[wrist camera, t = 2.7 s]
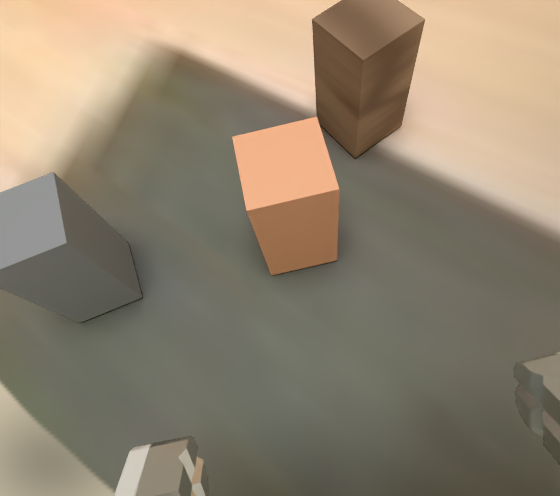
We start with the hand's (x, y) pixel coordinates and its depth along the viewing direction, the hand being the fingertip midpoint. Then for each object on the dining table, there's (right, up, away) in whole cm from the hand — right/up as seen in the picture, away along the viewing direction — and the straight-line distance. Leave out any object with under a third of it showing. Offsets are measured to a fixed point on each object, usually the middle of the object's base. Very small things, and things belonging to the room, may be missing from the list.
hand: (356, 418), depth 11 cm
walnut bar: (+4, +14, +22) cm, 26 cm away
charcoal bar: (-14, +2, +19) cm, 24 cm away
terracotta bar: (-1, +5, +19) cm, 19 cm away
